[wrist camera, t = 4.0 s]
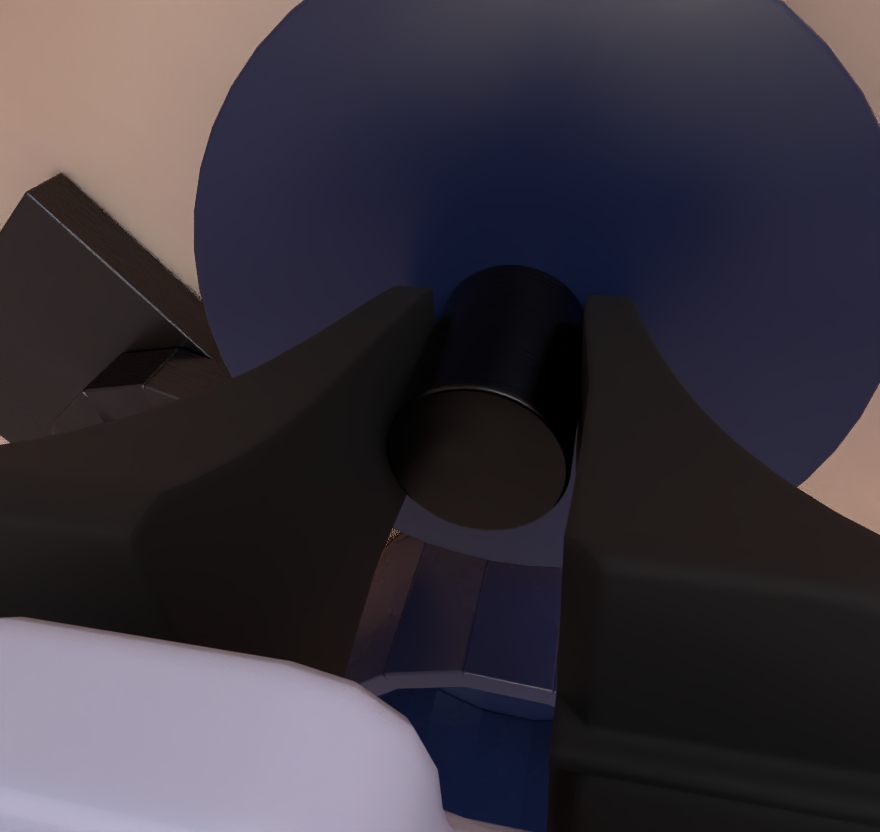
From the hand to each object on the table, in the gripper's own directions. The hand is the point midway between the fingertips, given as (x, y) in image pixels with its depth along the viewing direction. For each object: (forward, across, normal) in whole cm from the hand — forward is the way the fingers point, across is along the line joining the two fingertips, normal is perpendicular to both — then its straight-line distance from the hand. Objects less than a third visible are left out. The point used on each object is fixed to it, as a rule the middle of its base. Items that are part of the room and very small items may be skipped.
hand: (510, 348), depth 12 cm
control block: (+5, +11, +5) cm, 13 cm away
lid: (+1, 0, 0) cm, 1 cm away
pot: (+5, +1, +13) cm, 14 cm away
